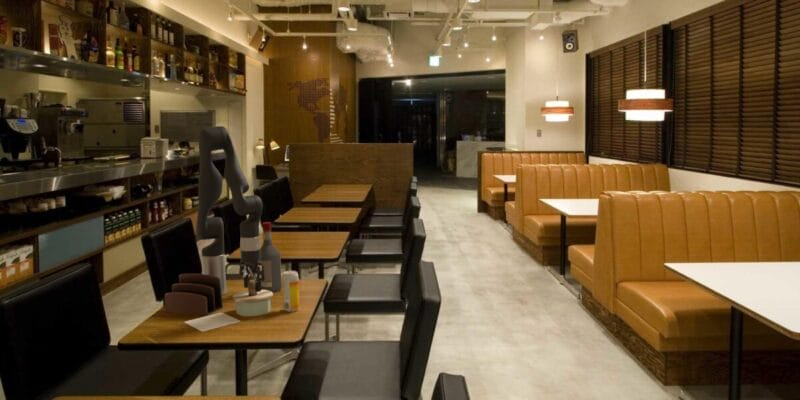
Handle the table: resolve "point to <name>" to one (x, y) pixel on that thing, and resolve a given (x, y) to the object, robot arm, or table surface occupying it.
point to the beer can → (291, 291)
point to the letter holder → (195, 295)
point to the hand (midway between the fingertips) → (252, 289)
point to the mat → (212, 321)
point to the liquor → (270, 262)
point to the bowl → (253, 308)
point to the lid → (252, 295)
